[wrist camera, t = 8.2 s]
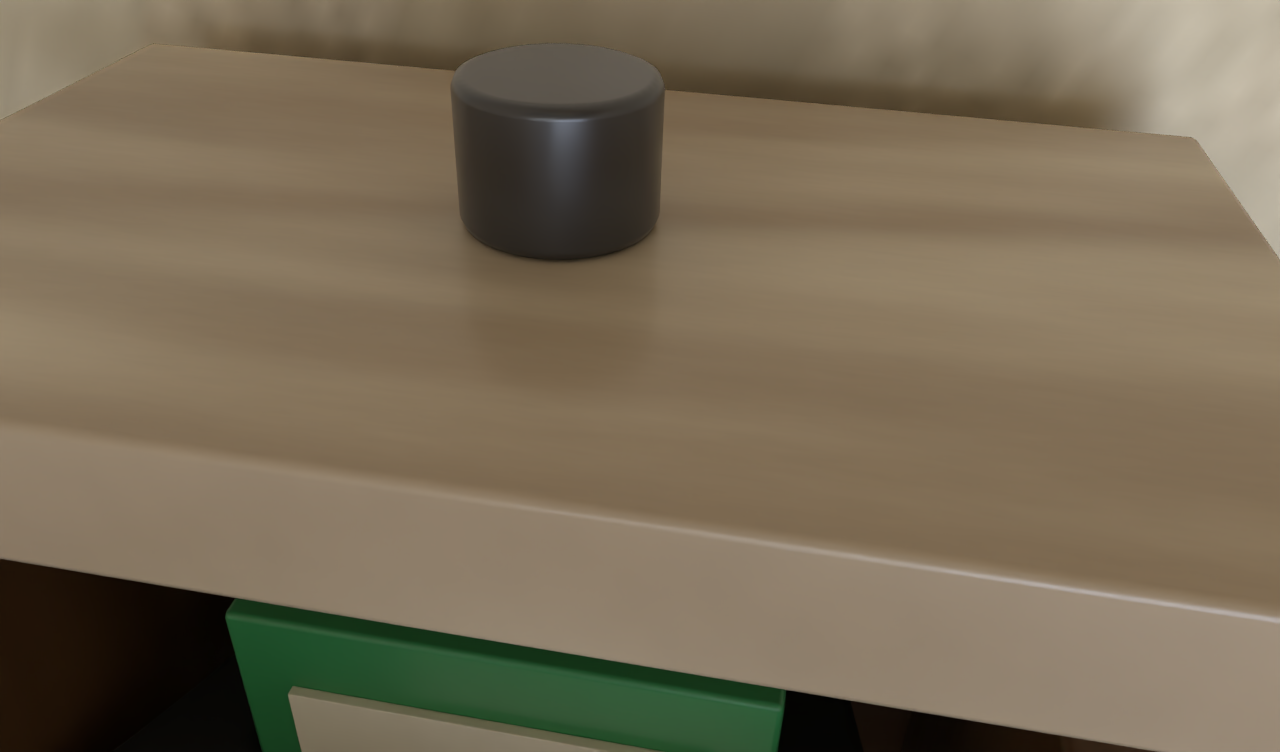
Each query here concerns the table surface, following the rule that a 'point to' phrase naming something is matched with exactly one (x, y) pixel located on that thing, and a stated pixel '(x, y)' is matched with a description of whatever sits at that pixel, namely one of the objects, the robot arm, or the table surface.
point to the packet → (474, 693)
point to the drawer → (636, 395)
